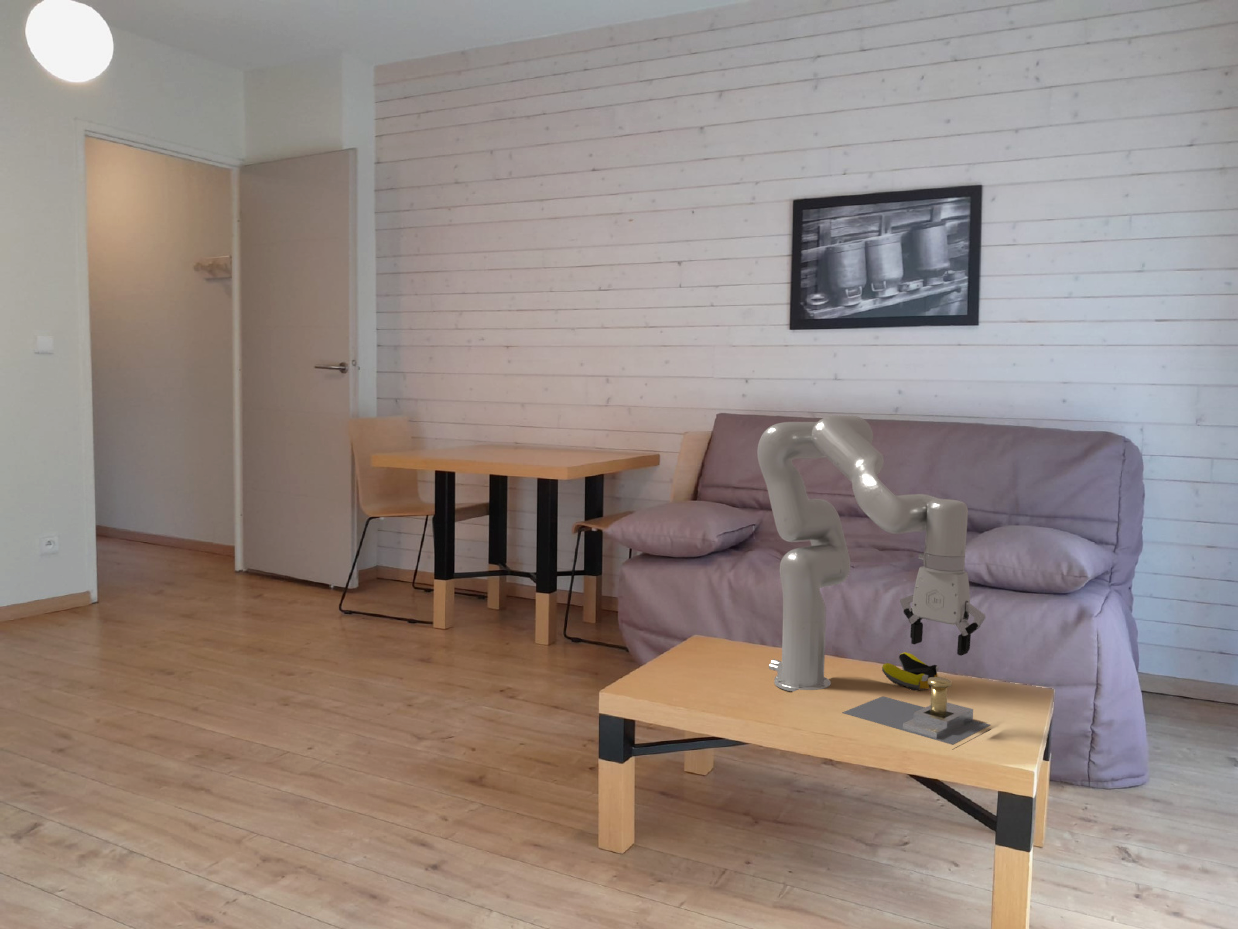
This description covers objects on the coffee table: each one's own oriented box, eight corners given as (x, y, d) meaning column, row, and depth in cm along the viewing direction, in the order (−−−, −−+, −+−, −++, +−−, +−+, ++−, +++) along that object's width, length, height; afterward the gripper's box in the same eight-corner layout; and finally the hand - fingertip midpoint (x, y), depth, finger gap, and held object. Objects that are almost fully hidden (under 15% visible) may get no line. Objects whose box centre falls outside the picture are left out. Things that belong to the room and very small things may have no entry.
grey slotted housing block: (902, 729, 185) (903, 717, 185) (940, 712, 195) (940, 700, 195) (936, 739, 180) (936, 726, 180) (972, 720, 190) (973, 709, 190)
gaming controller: (878, 687, 215) (922, 696, 209) (879, 663, 215) (923, 671, 209) (901, 672, 227) (943, 680, 222) (902, 650, 227) (944, 657, 221)
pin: (922, 724, 188) (923, 680, 187) (932, 719, 191) (934, 675, 190) (943, 730, 184) (944, 685, 184) (953, 725, 187) (955, 680, 187)
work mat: (841, 717, 194) (841, 712, 194) (882, 700, 205) (882, 696, 205) (952, 749, 177) (952, 744, 177) (990, 729, 188) (990, 724, 188)
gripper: (894, 558, 189) (889, 642, 190) (978, 572, 176) (972, 662, 178) (913, 554, 194) (908, 636, 196) (996, 567, 182) (990, 655, 183)
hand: (939, 648), depth 187 cm, fingers open, 9 cm apart
